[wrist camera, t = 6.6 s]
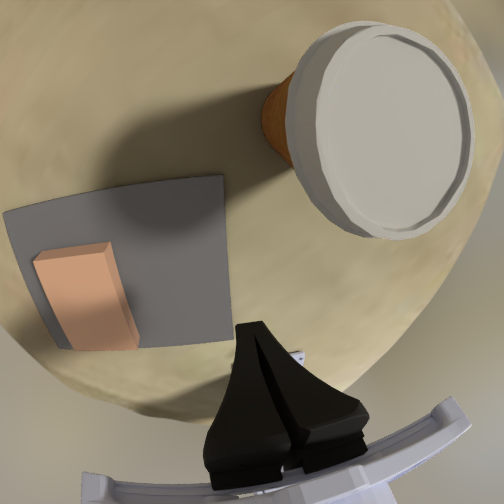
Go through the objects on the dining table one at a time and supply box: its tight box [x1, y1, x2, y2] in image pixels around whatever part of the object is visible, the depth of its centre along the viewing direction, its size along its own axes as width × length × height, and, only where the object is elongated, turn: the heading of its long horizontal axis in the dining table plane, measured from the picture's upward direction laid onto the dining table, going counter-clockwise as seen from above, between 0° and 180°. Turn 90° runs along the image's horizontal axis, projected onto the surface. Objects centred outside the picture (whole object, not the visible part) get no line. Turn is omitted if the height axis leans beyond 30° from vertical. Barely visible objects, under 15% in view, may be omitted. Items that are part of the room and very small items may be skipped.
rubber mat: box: [2, 174, 234, 349], centre depth 21 cm, size 16×20×1 cm
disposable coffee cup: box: [261, 21, 475, 241], centre depth 13 cm, size 10×10×12 cm
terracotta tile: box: [33, 242, 140, 351], centre depth 20 cm, size 10×2×7 cm
